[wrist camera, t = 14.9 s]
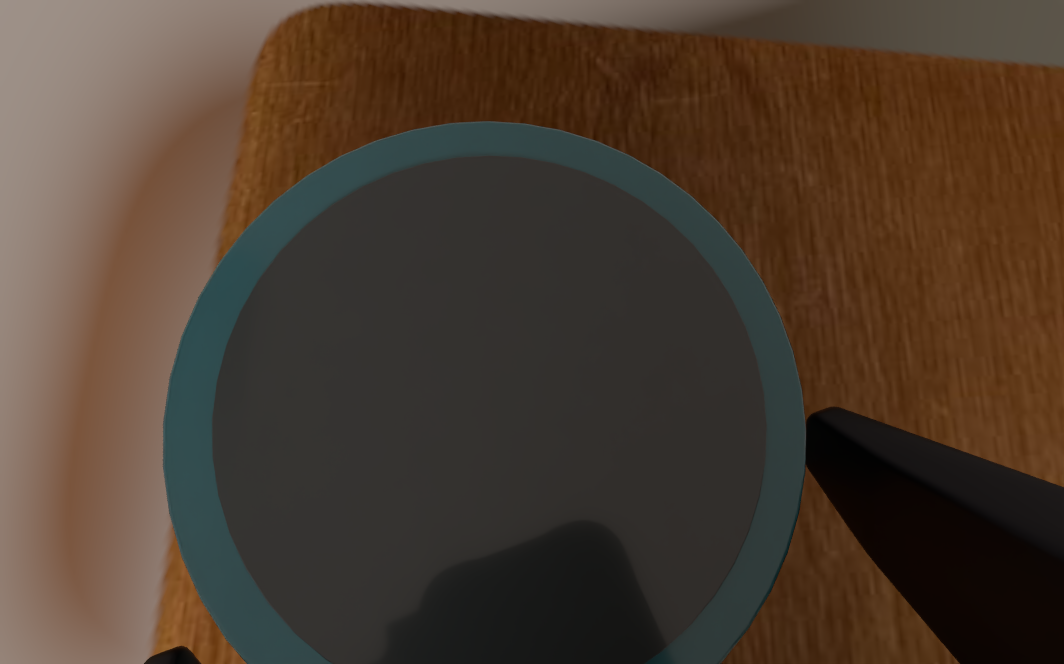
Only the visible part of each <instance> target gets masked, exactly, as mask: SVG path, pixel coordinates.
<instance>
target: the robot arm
mask: <svg viewBox="0 0 1064 664" xmlns="http://www.w3.org/2000/svg"><path fill="white" fill-rule="evenodd" d="M805 464H806V466H807V468H808V469H809V471H810V472H811V474H812V475H813V477H814V478H815V480H816V481H817V482H818V484H819V485H820V487H821V488H822V490H823V491H824V493H825V494H826V495H827V497H828V498H829V500H830V501H831V503H832V504H833V506H834V507H835V509H836V510H837V511H838V513H839V514H840V516H841V517H842V519H843V520H844V522H845V523H846V524H847V526H848V527H849V529H850V530H851V532H852V533H853V535H854V536H855V537H856V539H857V540H858V542H859V543H860V544H861V546H862V547H863V548H864V550H865V551H866V553H867V554H868V555H869V556H870V558H871V559H872V560H873V561H874V563H875V564H876V565H877V566H878V567H879V569H880V570H881V571H882V572H883V573H884V575H885V576H886V577H887V578H888V579H889V580H890V582H891V583H892V584H893V585H894V586H895V588H896V589H897V590H898V591H899V592H900V593H901V595H902V596H903V597H904V598H905V599H906V601H907V602H908V603H909V604H910V605H911V606H912V608H913V609H914V610H915V611H916V612H917V613H918V615H919V616H920V617H921V618H922V619H923V621H924V622H925V623H926V624H927V625H928V626H929V628H930V629H931V630H932V631H933V632H934V634H935V635H936V636H937V637H938V638H939V639H940V641H941V642H942V643H943V644H944V645H945V647H946V648H947V649H948V650H949V651H950V652H951V654H952V655H953V656H954V657H955V658H956V660H957V661H958V662H959V663H960V664H1064V487H1061V486H1058V485H1056V484H1053V483H1050V482H1047V481H1044V480H1042V479H1039V478H1036V477H1033V476H1030V475H1028V474H1025V473H1022V472H1019V471H1016V470H1014V469H1011V468H1008V467H1005V466H1002V465H1000V464H997V463H994V462H991V461H988V460H986V459H983V458H980V457H977V456H974V455H971V454H969V453H966V452H963V451H960V450H957V449H955V448H952V447H949V446H946V445H943V444H941V443H938V442H935V441H932V440H929V439H927V438H924V437H921V436H918V435H915V434H913V433H910V432H907V431H904V430H901V429H899V428H896V427H893V426H890V425H887V424H885V423H882V422H879V421H876V420H873V419H871V418H868V417H865V416H862V415H859V414H856V413H854V412H851V411H848V410H845V409H842V408H839V407H828V408H825V409H823V410H820V411H817V412H815V413H812V414H810V415H809V417H808V418H807V421H806V462H805ZM144 664H201V663H200V662H199V660H198V659H197V658H196V657H195V656H194V654H193V653H192V652H191V651H190V650H189V649H188V648H187V647H184V646H179V647H175V648H173V649H170V650H167V651H164V652H162V653H159V654H156V655H154V656H152V657H150V658H149V659H148V660H147V661H146V662H145V663H144Z"/></svg>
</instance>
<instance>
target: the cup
mask: <svg viewBox="0 0 1064 664" xmlns="http://www.w3.org/2000/svg"><path fill="white" fill-rule="evenodd" d="M805 462H806V423H805V414H804V404H803V394H802V388H801V383H800V379H799V375H798V370H797V366H796V361H795V357H794V353H793V350H792V347H791V344H790V341H789V339H788V336H787V333H786V330H785V327H784V325H783V322H782V319H781V316H780V314H779V312H778V310H777V308H776V306H775V304H774V302H773V300H772V298H771V296H770V294H769V292H768V290H767V288H766V286H765V284H764V282H763V280H762V279H761V277H760V276H759V274H758V273H757V271H756V270H755V268H754V267H753V265H752V264H751V262H750V261H749V259H748V258H747V256H746V255H745V253H744V252H743V250H742V249H741V248H740V246H739V245H738V244H737V243H736V242H735V241H734V239H733V238H732V237H731V236H730V235H729V233H728V232H727V231H726V230H725V229H724V227H723V226H722V225H721V224H720V223H719V222H718V221H717V220H716V219H715V218H714V217H713V216H712V215H711V214H710V213H709V212H708V211H707V210H706V209H705V208H704V207H703V206H702V205H700V204H699V203H698V202H697V201H696V200H695V199H694V198H693V197H692V196H691V195H690V194H688V193H687V192H685V191H684V190H683V189H681V188H680V187H679V186H677V185H676V184H675V183H673V182H672V181H671V180H669V179H668V178H667V177H665V176H664V175H663V174H661V173H659V172H658V171H656V170H654V169H653V168H651V167H649V166H647V165H646V164H644V163H642V162H640V161H639V160H637V159H635V158H633V157H632V156H630V155H628V154H626V153H623V152H621V151H619V150H616V149H614V148H612V147H609V146H607V145H605V144H602V143H600V142H598V141H595V140H592V139H589V138H585V137H582V136H579V135H575V134H572V133H569V132H566V131H562V130H558V129H552V128H547V127H541V126H535V125H530V124H524V123H508V122H492V121H481V122H463V123H448V124H442V125H437V126H431V127H425V128H419V129H414V130H410V131H406V132H403V133H400V134H396V135H393V136H390V137H386V138H383V139H380V140H376V141H374V142H372V143H369V144H367V145H365V146H362V147H360V148H358V149H355V150H353V151H351V152H349V153H346V154H344V155H342V156H340V157H338V158H336V159H334V160H333V161H331V162H329V163H328V164H326V165H324V166H323V167H321V168H319V169H317V170H316V171H314V172H312V173H311V174H309V175H307V176H306V177H304V178H303V179H302V180H300V181H299V182H298V183H297V184H295V185H294V186H293V187H291V188H290V189H289V190H287V191H286V192H285V193H283V194H282V195H281V196H280V197H278V198H277V199H276V200H274V201H273V202H272V203H271V204H270V205H269V206H268V207H267V208H266V209H265V210H264V211H263V212H262V213H261V214H260V215H259V216H258V217H257V218H256V219H255V220H254V221H253V222H252V223H251V224H250V225H249V226H248V227H247V228H246V229H245V230H244V232H243V233H242V234H241V235H240V237H239V238H238V239H237V240H236V242H235V243H234V244H233V245H232V247H231V248H230V249H229V251H228V252H227V253H226V254H225V256H224V257H223V258H222V259H221V261H220V262H219V264H218V266H217V267H216V269H215V271H214V272H213V274H212V276H211V277H210V279H209V281H208V282H207V284H206V286H205V287H204V289H203V291H202V292H201V294H200V296H199V297H198V300H197V302H196V304H195V307H194V309H193V311H192V314H191V316H190V318H189V320H188V323H187V325H186V327H185V330H184V332H183V334H182V337H181V340H180V344H179V348H178V351H177V354H176V358H175V361H174V365H173V368H172V372H171V376H170V379H169V387H168V394H167V400H166V407H165V415H164V421H163V470H164V478H165V485H166V492H167V500H168V507H169V514H170V517H171V521H172V524H173V528H174V531H175V535H176V538H177V542H178V545H179V549H180V552H181V556H182V559H183V561H184V563H185V565H186V568H187V570H188V572H189V574H190V577H191V579H192V581H193V583H194V586H195V588H196V590H197V592H198V595H199V597H200V599H201V601H202V602H203V604H204V606H205V607H206V609H207V610H208V612H209V613H210V615H211V617H212V618H213V620H214V621H215V623H216V624H217V626H218V628H219V629H220V631H221V632H222V634H223V635H224V637H225V639H226V640H227V641H228V642H229V644H230V645H231V646H232V647H233V648H234V649H235V650H236V652H237V653H238V654H239V655H240V656H241V657H242V659H243V660H244V661H245V662H246V663H247V664H721V663H722V662H723V660H724V659H725V658H726V657H727V655H728V654H729V653H730V651H731V650H732V649H733V648H734V646H735V645H736V644H737V643H738V641H739V640H740V639H741V638H742V636H743V635H744V634H745V633H746V631H747V630H748V629H749V627H750V626H751V624H752V622H753V621H754V619H755V617H756V616H757V614H758V612H759V610H760V609H761V607H762V605H763V604H764V602H765V600H766V599H767V597H768V595H769V594H770V592H771V590H772V588H773V585H774V583H775V581H776V578H777V576H778V574H779V571H780V569H781V567H782V564H783V562H784V560H785V557H786V555H787V553H788V550H789V546H790V543H791V539H792V535H793V532H794V528H795V525H796V521H797V518H798V514H799V510H800V503H801V496H802V490H803V483H804V476H805Z"/></svg>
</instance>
